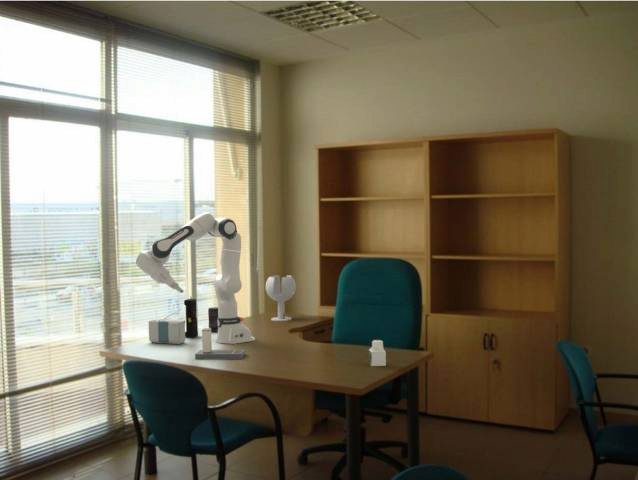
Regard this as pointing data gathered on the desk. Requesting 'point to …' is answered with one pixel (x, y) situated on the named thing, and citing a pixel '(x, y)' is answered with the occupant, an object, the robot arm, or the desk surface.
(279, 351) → the desk surface
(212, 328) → the camera lens
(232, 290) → the robot arm
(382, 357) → the medicine bottle
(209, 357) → the mixing console
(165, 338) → the stereo radio cassette player
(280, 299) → the stemmed glass
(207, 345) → the fader knob
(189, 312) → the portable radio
